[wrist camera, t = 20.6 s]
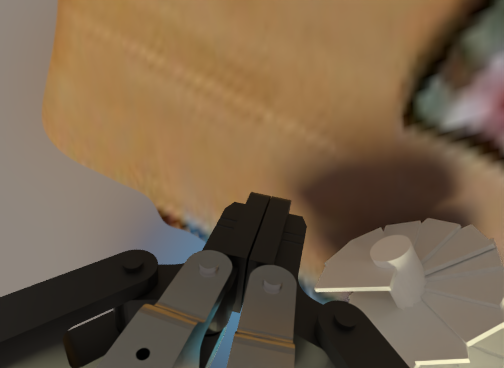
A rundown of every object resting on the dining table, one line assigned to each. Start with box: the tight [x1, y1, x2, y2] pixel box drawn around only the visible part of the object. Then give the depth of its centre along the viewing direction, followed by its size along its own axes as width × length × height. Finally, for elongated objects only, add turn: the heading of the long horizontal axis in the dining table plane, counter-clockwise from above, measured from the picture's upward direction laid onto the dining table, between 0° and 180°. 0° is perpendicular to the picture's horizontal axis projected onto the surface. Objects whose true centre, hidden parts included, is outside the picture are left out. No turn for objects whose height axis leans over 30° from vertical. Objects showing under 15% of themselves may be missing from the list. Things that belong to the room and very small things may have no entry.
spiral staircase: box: [314, 218, 504, 368], centre depth 39 cm, size 18×18×25 cm
